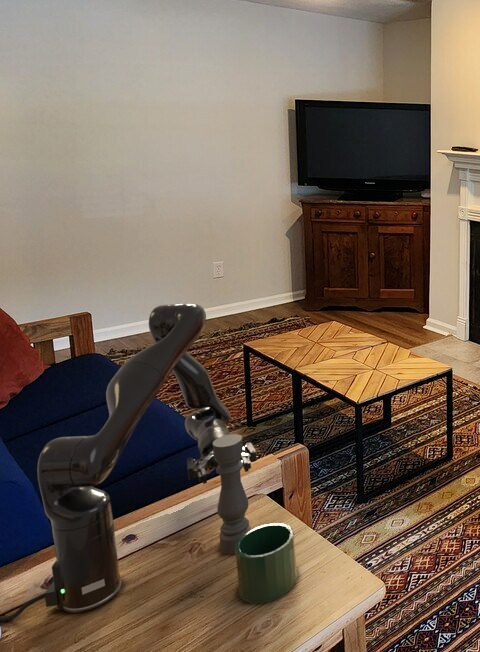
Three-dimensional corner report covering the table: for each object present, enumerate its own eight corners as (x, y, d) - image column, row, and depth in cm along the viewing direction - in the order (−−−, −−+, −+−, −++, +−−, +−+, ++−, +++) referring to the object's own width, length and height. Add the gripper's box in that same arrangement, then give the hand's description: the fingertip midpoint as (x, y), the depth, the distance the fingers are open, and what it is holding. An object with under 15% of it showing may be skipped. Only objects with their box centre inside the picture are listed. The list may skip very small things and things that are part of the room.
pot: (233, 608, 119) (229, 562, 117) (245, 571, 129) (241, 528, 127) (292, 597, 122) (289, 552, 120) (299, 562, 132) (296, 519, 130)
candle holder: (257, 537, 140) (249, 434, 136) (240, 555, 134) (232, 448, 130) (231, 535, 140) (223, 432, 137) (214, 553, 134) (204, 446, 131)
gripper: (181, 439, 149) (188, 468, 136) (246, 423, 157) (259, 449, 144) (184, 467, 150) (191, 499, 137) (248, 450, 159) (261, 478, 146)
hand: (226, 473), depth 141 cm, fingers open, 8 cm apart
